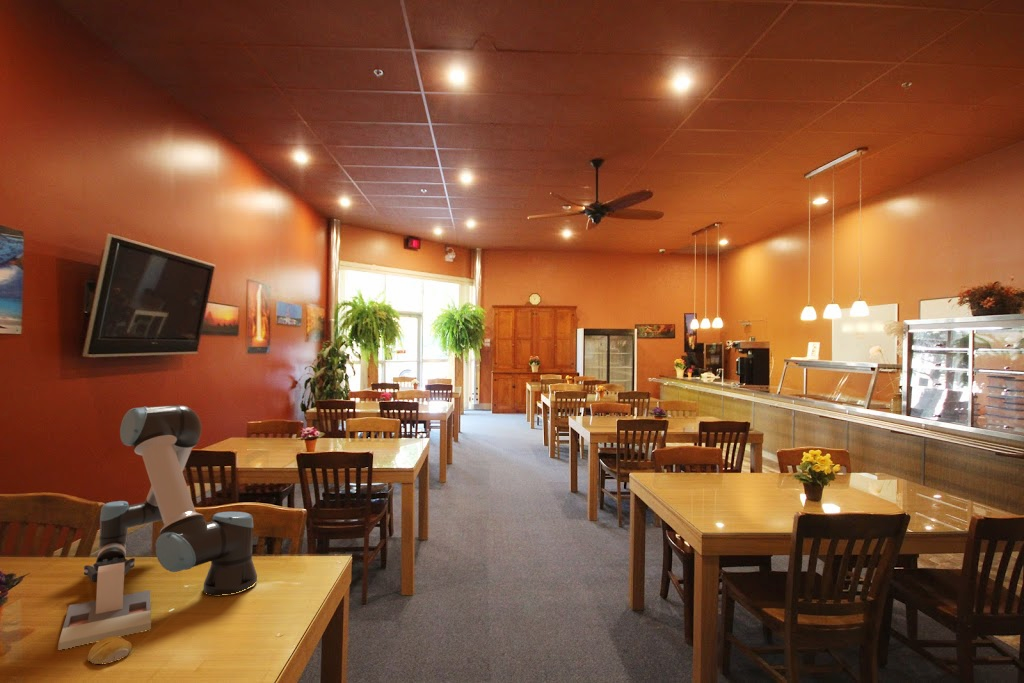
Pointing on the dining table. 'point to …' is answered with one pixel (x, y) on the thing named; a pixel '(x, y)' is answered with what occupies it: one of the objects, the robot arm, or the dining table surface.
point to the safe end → (104, 629)
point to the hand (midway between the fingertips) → (106, 584)
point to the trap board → (87, 611)
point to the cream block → (110, 587)
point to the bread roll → (109, 650)
